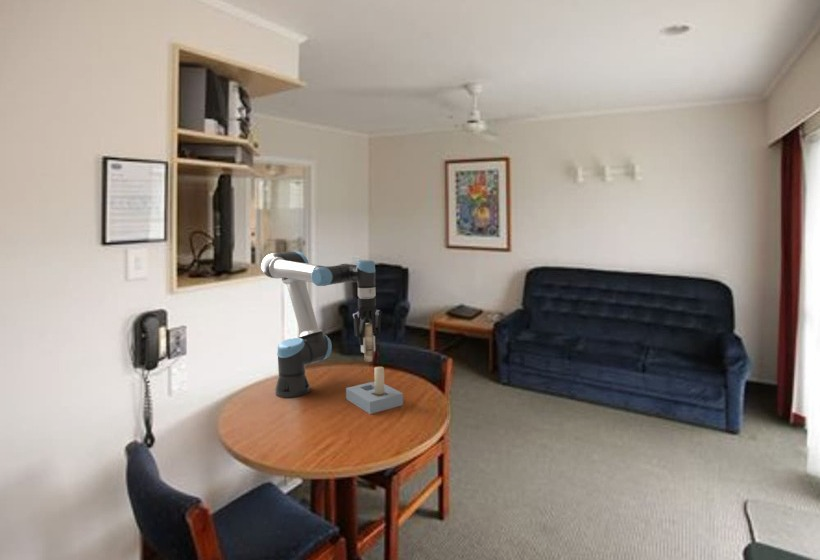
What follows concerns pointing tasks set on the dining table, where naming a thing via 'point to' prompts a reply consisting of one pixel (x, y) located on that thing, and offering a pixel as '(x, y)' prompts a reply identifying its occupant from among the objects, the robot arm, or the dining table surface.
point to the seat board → (374, 394)
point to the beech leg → (368, 342)
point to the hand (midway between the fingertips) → (368, 351)
